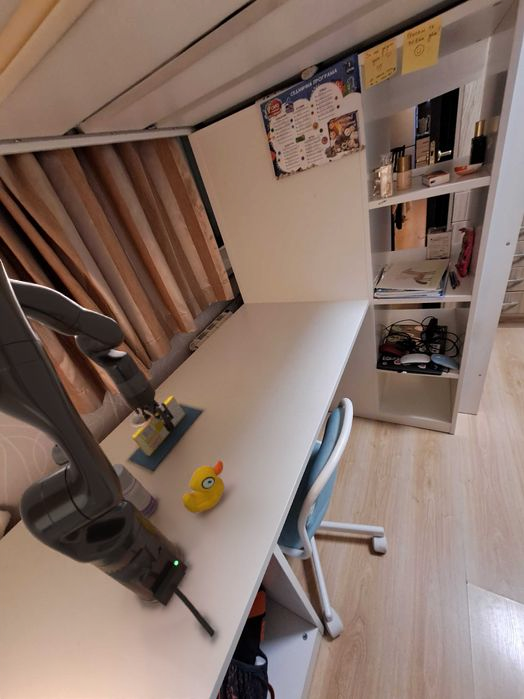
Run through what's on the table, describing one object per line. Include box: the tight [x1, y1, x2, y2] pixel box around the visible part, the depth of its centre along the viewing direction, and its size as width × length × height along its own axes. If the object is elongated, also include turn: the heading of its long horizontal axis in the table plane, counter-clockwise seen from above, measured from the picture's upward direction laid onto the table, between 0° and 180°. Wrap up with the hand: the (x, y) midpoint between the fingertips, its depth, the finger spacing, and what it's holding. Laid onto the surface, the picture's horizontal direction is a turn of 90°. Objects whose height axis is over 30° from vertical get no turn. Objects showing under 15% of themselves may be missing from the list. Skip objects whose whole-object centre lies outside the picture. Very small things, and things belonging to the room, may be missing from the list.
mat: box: [128, 404, 203, 472], centre depth 88 cm, size 11×22×1 cm, turn 150°
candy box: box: [131, 395, 185, 456], centre depth 86 cm, size 16×2×8 cm, turn 150°
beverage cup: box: [44, 434, 69, 467], centre depth 77 cm, size 7×7×20 cm
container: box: [112, 462, 157, 518], centre depth 66 cm, size 5×5×15 cm
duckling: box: [182, 460, 225, 514], centre depth 64 cm, size 11×5×10 cm, turn 124°
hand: (162, 426), depth 86 cm, fingers open, 8 cm apart
